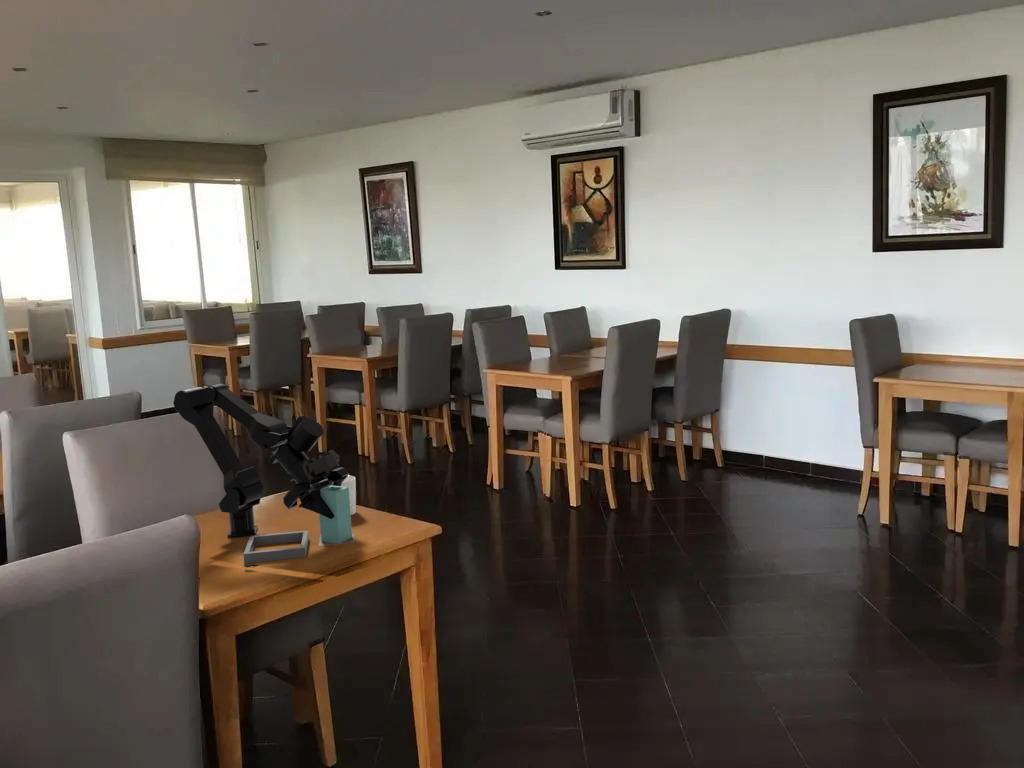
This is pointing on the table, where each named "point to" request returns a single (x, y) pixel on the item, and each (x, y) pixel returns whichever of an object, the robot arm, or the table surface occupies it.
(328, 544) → the grey plate with post
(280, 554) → the tray
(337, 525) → the sleeve
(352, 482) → the white cup
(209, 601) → the table surface
